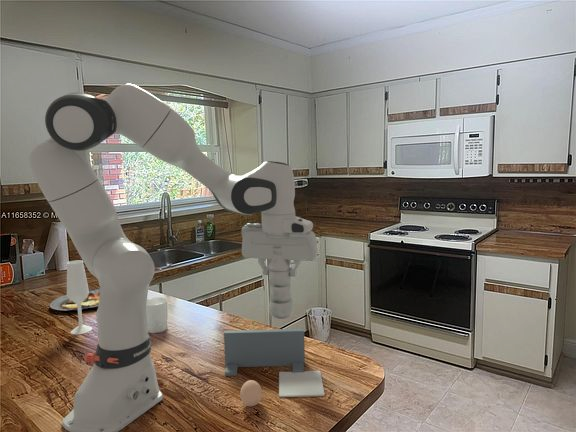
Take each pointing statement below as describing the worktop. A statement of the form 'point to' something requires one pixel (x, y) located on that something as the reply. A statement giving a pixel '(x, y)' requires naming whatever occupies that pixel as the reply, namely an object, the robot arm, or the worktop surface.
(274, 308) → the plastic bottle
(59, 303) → the food plate
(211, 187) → the robot arm
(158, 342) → the worktop surface
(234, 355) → the slate screen
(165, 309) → the white cup
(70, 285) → the champagne flute
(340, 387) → the worktop surface
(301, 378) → the grey mat
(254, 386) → the egg
